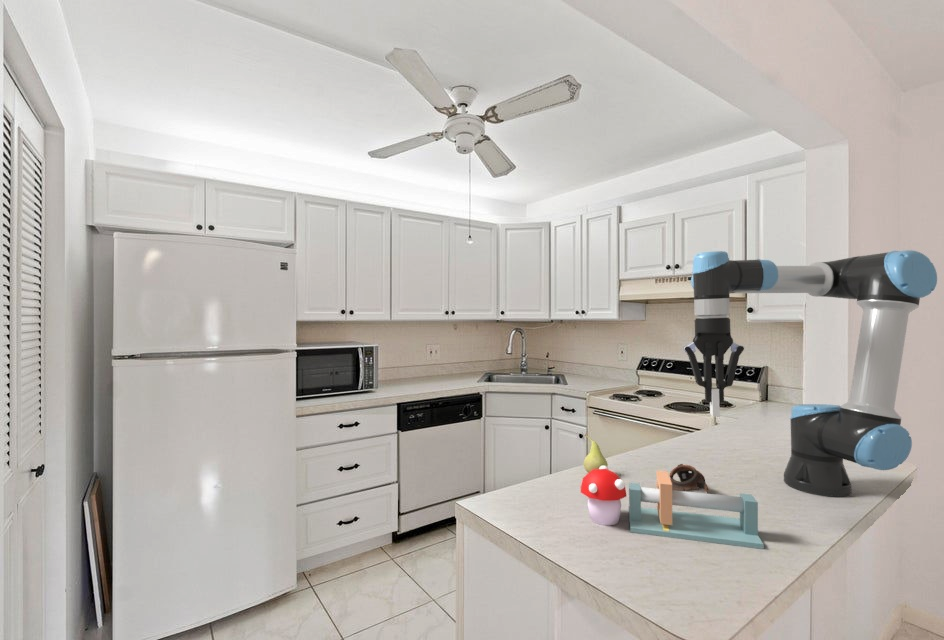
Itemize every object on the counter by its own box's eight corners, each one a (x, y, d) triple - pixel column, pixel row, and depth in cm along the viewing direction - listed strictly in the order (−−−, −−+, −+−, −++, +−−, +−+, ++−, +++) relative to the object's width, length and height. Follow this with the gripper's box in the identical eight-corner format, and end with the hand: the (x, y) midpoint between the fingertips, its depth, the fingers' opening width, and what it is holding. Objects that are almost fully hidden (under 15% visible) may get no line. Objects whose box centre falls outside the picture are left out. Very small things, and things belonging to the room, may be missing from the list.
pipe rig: (746, 523, 105) (746, 488, 105) (763, 549, 93) (763, 509, 93) (628, 509, 113) (628, 477, 112) (630, 532, 101) (630, 495, 101)
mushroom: (620, 534, 100) (620, 480, 100) (573, 522, 106) (573, 471, 106) (631, 515, 109) (631, 466, 109) (587, 506, 115) (587, 459, 115)
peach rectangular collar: (667, 508, 108) (667, 471, 108) (672, 525, 100) (672, 484, 100) (656, 507, 109) (656, 470, 109) (660, 523, 101) (660, 483, 101)
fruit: (599, 481, 132) (599, 440, 132) (577, 474, 138) (577, 435, 138) (611, 475, 137) (611, 436, 136) (590, 469, 142) (590, 431, 142)
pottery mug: (718, 500, 119) (707, 476, 117) (684, 514, 121) (672, 490, 119) (697, 473, 131) (687, 451, 129) (666, 486, 132) (656, 464, 130)
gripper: (737, 315, 110) (740, 412, 110) (679, 317, 113) (682, 411, 114) (747, 316, 102) (750, 419, 103) (685, 318, 106) (688, 418, 106)
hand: (714, 415), depth 108 cm, fingers closed
